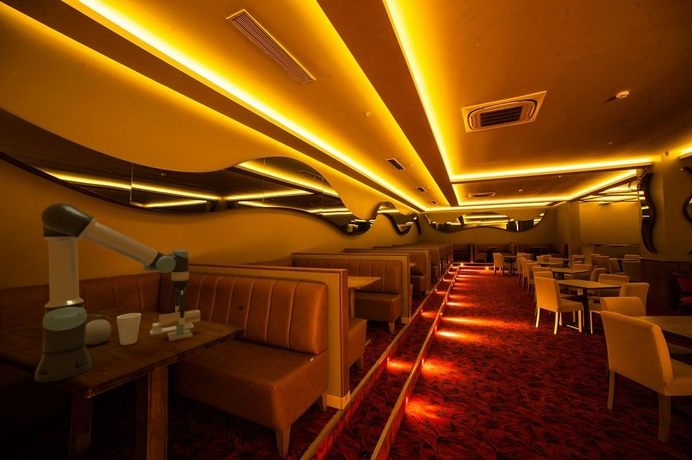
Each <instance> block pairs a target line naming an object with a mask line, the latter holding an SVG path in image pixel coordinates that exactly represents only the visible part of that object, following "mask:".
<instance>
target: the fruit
mask: <svg viewBox="0 0 692 460" xmlns="http://www.w3.org/2000/svg"><path fill="white" fill-rule="evenodd" d="M89 316H91V317H96V319H94V320H91V321H89V322H88V323H86V344H87V345H91V346H96V345H100V344H102V343H104V342H106V341H107V340H108V339H109V338H110V335H111V333H112V326H111V324H110V323H109V321H107V320H105V319H100V317H106V318H108V319H109V320H111V318H110V316H107V315H103V314H93V313H92V314H87V317H89Z"/></svg>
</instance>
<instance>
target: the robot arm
mask: <svg viewBox="0 0 692 460" xmlns="http://www.w3.org/2000/svg"><path fill="white" fill-rule="evenodd" d="M40 219H41V222H42V223H41V224H42V239H44V240H45V241H46V242H48V274H49V275H48V277H49V301H48V302H47V303H46V304H45V305H44V315H43V320H42V323H41V324H42V355H41V359H40V361H39V364H38V366H37V367H36V370H35V372H34V381H35V382H38V383H51V382H57V381H62V380H66V379H70V378H73V377H75V376H79V375H81V374H83V373H85V372H87V371H88V370H89V369H91V368H92V359H91V356H90V354H89V352H88V350H87V345H86V344H87V343H86V325H87V318H88V314H87V310H86V309H85V301H84V299H83V298H81V297H80V282H79V246H78V245H79V242H78V241H79V240H80V239H82V238H83V239H84V240H87V241H89V242H91V243H94V244H97V246H98V245H99V246H101V247H103V248H106V249H107V250H110V251H112V252H115V253H117V254H119V255H121V256H123V257H126V258H129V259H131V260H133V261H135V262H138V263H140V264H142V267H143V270H144V271H147V272H148V271H151V272H154V271H158V272H159V273H163V274H166V273H167V274H168V273H169V272H171V288H172V289H175V299H174V304H175V306H174V307H175V309H174V311H175V312H174V313H178V312H179V325H180V324H185V311H186V310H187V307H186V296H185V295H186V290H184V289H185V288H188V287H189V285H190V284H189V283H190V280H189V275H190V274H191V273H190V272H189V265H190V263H189V260H190V257H189V255H190V254H189V251H188V250H187V249H177V250H172V251H171V253H168V254H165V253H162V252H159V251H158V250H156V249H154V248H152V247H150V246H148V245H146V244H143V243H141V242H139V241H137V240H135V239H134V238H132V237H129V236H127V235H125V234H123V233H120V232H118V231H116V230H115V229H112V228H111V227H108V226H107V225H104V224H102V223H100V222H98V221H97V220H96V218H95V217H93V216H92V215H89V214H88V213H86V212H84V211H82V210H81V209H79V207H77V206H75V205H72V204H71V203H65V202H58V203H53V204H50V205H48V206H47V207H45V208H44V210H42V211H41V215H40ZM50 381H51V382H50Z"/></svg>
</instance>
